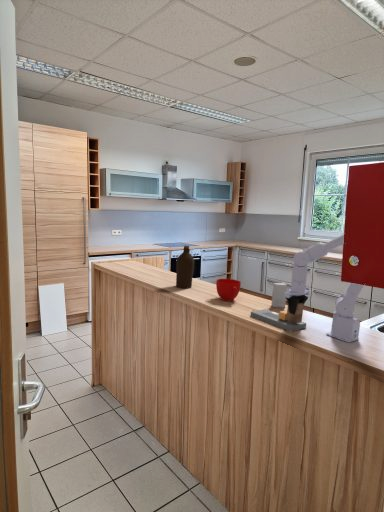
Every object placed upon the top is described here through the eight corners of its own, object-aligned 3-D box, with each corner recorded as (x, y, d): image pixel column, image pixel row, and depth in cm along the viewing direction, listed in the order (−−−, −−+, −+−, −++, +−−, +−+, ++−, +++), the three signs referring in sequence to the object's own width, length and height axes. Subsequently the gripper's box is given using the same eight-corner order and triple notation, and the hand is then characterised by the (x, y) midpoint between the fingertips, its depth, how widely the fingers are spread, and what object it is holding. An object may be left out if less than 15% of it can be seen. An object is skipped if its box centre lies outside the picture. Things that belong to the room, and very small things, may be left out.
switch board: (305, 327, 138) (306, 323, 138) (291, 331, 132) (291, 326, 132) (265, 313, 155) (265, 309, 155) (250, 316, 149) (250, 311, 149)
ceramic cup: (222, 304, 165) (224, 285, 164) (211, 296, 181) (213, 278, 180) (246, 304, 169) (248, 285, 167) (233, 296, 185) (235, 278, 184)
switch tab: (290, 319, 141) (290, 312, 140) (284, 320, 138) (285, 313, 138) (284, 317, 143) (285, 310, 143) (278, 318, 141) (279, 311, 140)
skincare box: (282, 305, 172) (284, 283, 170) (285, 308, 167) (287, 284, 166) (270, 305, 171) (273, 282, 169) (273, 307, 166) (276, 284, 165)
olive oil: (190, 289, 194) (193, 247, 191) (173, 287, 196) (175, 245, 193) (193, 286, 204) (196, 245, 201) (177, 284, 206) (179, 244, 203)
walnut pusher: (301, 322, 136) (303, 303, 135) (296, 323, 134) (298, 304, 133) (291, 318, 140) (293, 300, 139) (286, 319, 138) (288, 301, 137)
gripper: (300, 277, 142) (297, 308, 144) (279, 279, 133) (276, 312, 135) (315, 281, 137) (311, 312, 138) (294, 283, 128) (290, 317, 129)
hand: (295, 312), depth 136 cm, fingers closed on walnut pusher, 3 cm apart
